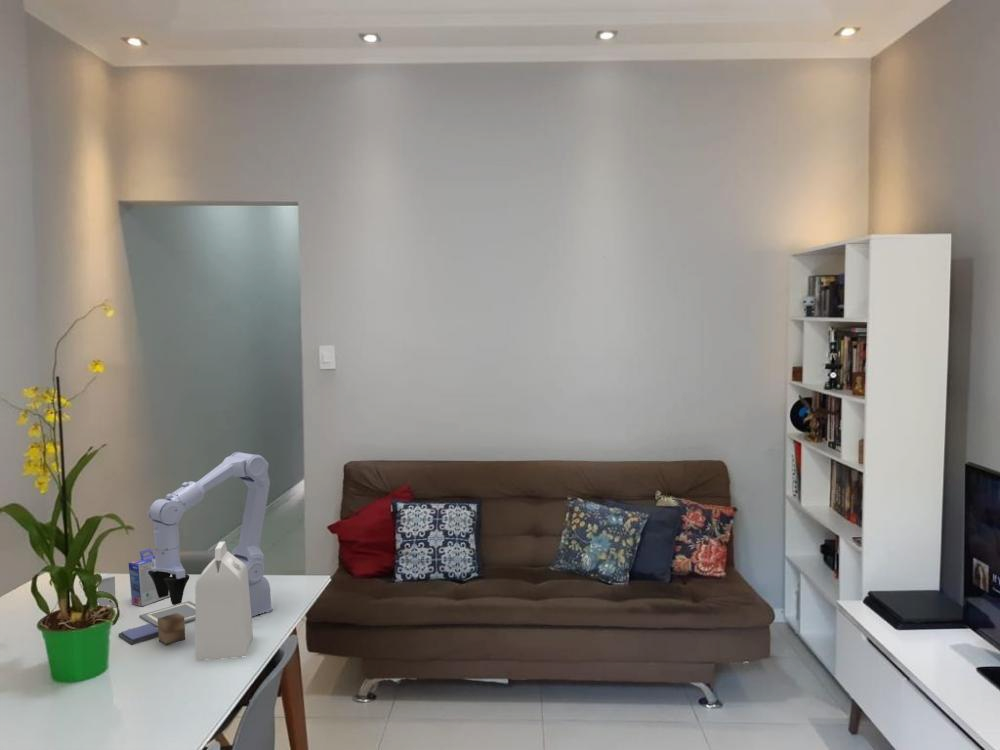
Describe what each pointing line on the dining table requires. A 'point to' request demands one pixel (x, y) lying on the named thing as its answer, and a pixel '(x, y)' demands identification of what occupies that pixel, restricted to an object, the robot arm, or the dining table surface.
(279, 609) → the dining table surface
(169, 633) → the stamp
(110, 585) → the skincare box
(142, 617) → the mat
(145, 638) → the ink pad
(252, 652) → the dining table surface
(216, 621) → the milk
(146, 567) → the ink cartridge box
